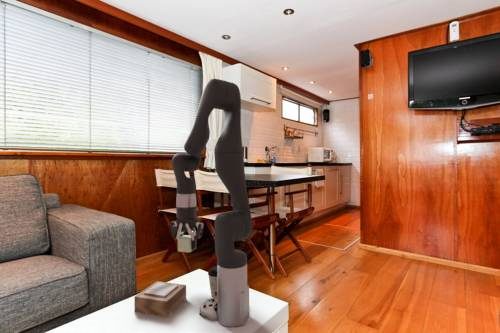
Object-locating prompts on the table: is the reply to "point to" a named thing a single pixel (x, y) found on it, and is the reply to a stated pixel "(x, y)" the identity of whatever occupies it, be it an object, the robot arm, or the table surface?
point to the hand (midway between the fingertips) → (186, 248)
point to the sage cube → (184, 244)
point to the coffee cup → (213, 282)
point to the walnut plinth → (160, 298)
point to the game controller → (209, 309)
